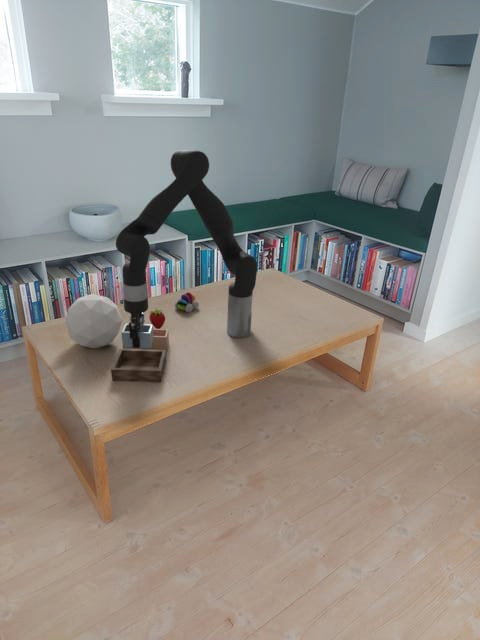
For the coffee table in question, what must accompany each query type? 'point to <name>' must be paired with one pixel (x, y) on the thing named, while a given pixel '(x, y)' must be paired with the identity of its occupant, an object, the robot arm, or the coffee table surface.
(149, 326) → the blue-grey hollow box
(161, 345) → the terracotta crate
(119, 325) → the geometric orb
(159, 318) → the strawberry
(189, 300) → the colourful round cluster
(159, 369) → the walnut crate
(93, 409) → the coffee table surface
